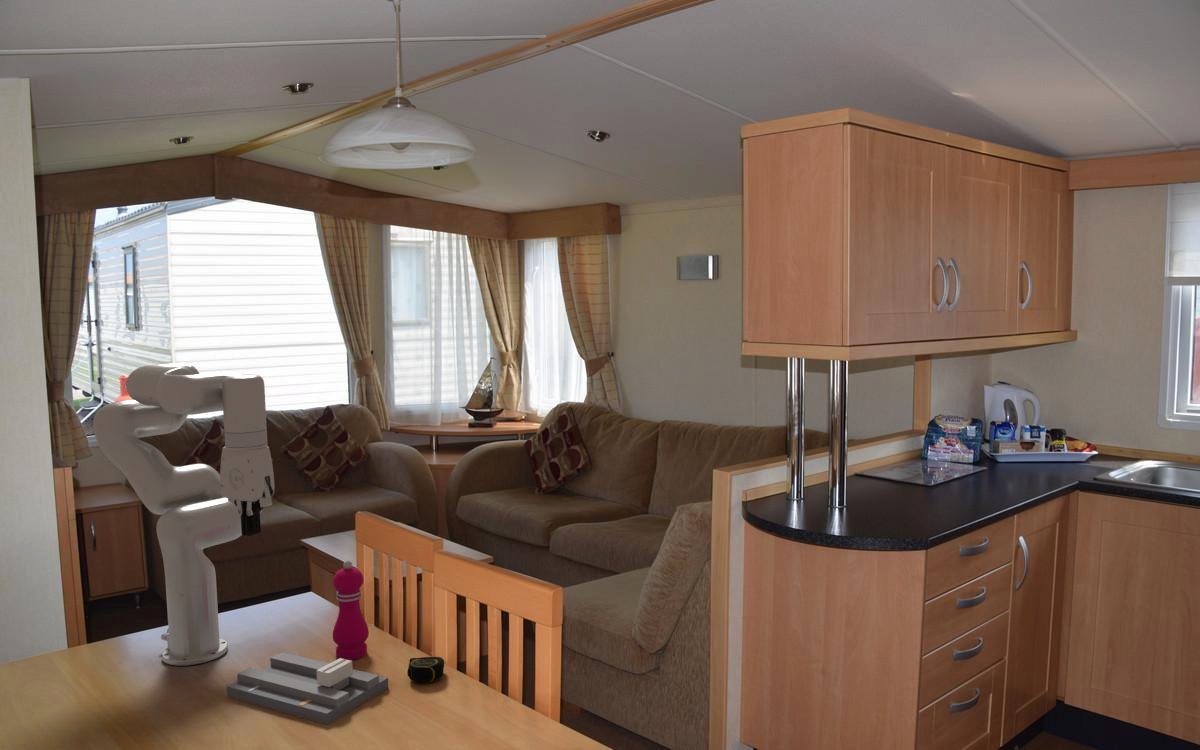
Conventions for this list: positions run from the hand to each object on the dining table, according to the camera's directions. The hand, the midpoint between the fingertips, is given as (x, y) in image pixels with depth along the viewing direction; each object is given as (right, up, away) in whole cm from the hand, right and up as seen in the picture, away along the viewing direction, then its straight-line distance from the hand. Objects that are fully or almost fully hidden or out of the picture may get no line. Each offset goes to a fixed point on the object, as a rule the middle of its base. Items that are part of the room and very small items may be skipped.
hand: (251, 533), depth 174 cm
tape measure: (+33, -29, +3) cm, 44 cm away
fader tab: (+18, -27, -7) cm, 33 cm away
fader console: (+12, -29, -3) cm, 32 cm away
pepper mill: (+15, -28, +14) cm, 35 cm away
